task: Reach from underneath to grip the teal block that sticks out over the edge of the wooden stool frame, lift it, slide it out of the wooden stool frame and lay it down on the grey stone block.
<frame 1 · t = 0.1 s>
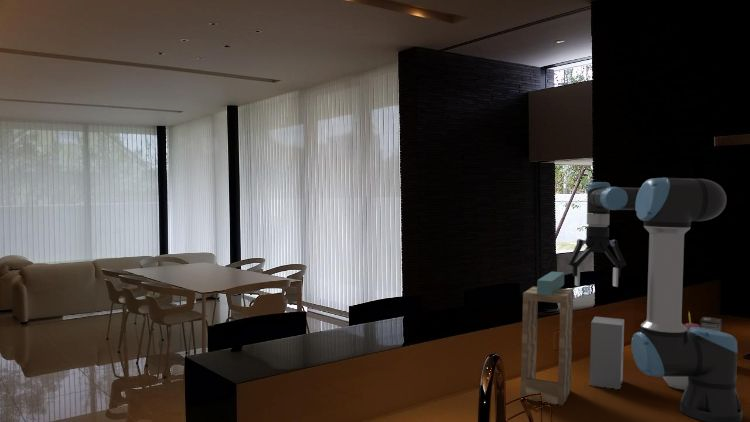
hand: (596, 286, 217), 28 cm above the counter, tool pointing down, fingers open, 13 cm apart
ceramic mug: (683, 351, 240), on the counter
wooden stool frame: (546, 394, 183), on the counter
coffee box: (709, 364, 222), on the counter
stone block: (606, 383, 196), on the counter
lidded bowl: (680, 386, 194), on the counter
cupcake: (692, 340, 259), on the counter
teal block: (551, 289, 187), point 31 cm above the counter, touching wooden stool frame
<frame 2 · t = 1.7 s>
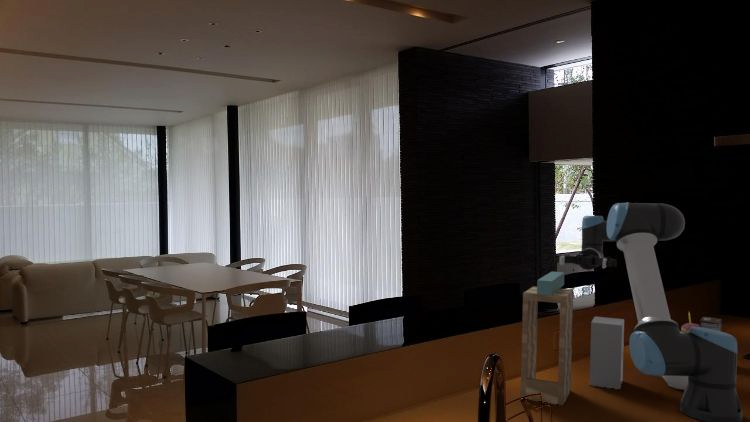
hand: (581, 262, 203), 38 cm above the counter, tool horizontal, fingers open, 13 cm apart
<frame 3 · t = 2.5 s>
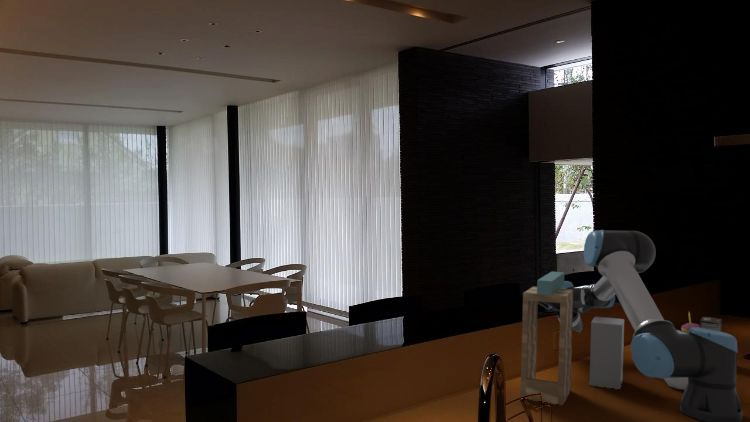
hand: (560, 291, 203), 28 cm above the counter, tool pointing upward, fingers open, 13 cm apart
nothing on the counter moved.
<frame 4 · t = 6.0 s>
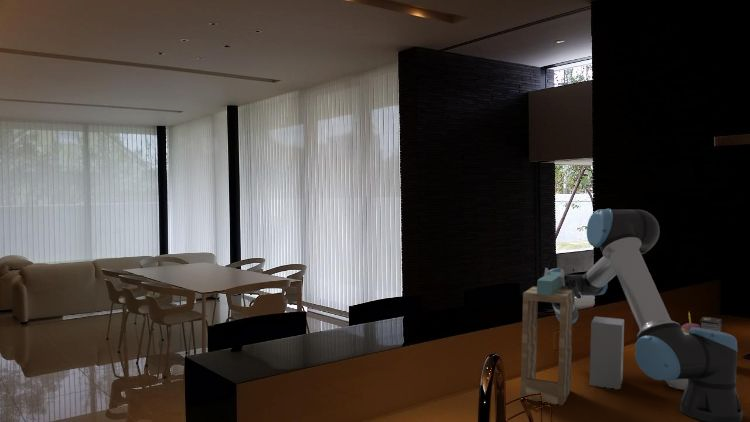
hand: (553, 272, 190), 36 cm above the counter, tool pointing upward, fingers closed on teal block, 4 cm apart
teal block: (551, 289, 187), point 31 cm above the counter, touching gripper, wooden stool frame
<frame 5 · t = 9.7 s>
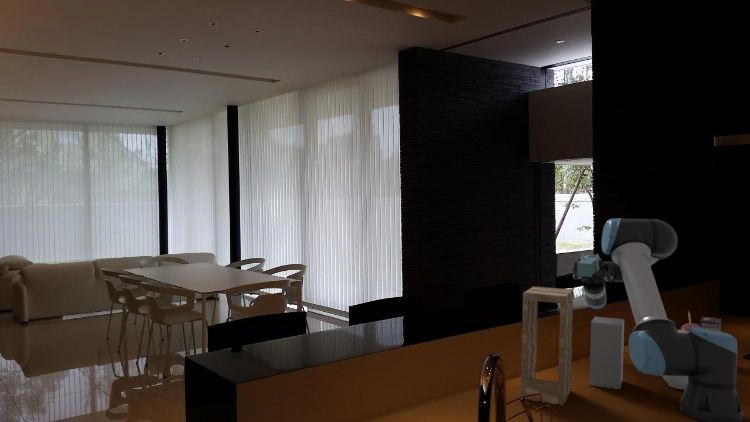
hand: (589, 257, 203), 39 cm above the counter, tool pointing upward, fingers closed on teal block, 4 cm apart
teal block: (587, 272, 200), point 35 cm above the counter, touching gripper
when the fingers open (25 cm above the counter, at t = 13.3 s): teal block stays where it is, resting on stone block.
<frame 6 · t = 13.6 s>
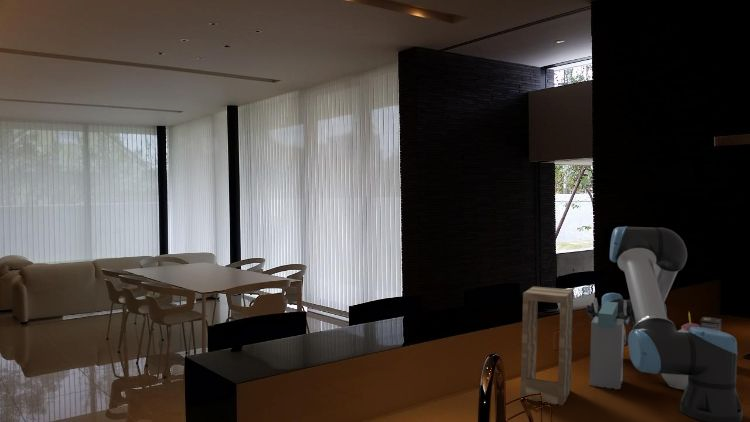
hand: (609, 302, 201), 25 cm above the counter, tool pointing upward, fingers open, 8 cm apart
teal block: (608, 320, 197), point 20 cm above the counter, touching stone block
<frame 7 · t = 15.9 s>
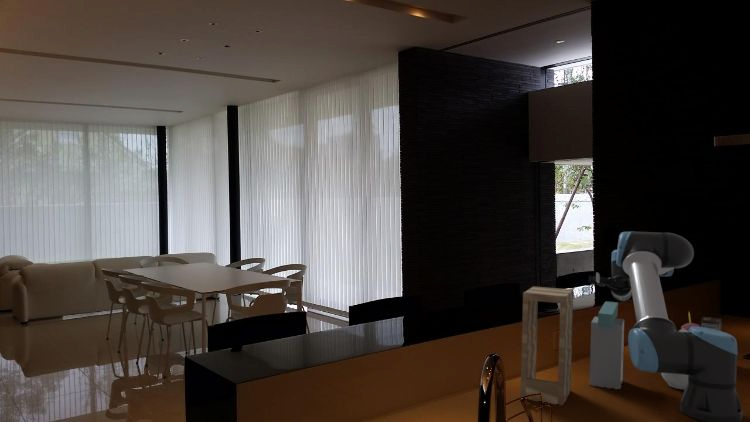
hand: (618, 277, 212), 32 cm above the counter, tool pointing upward, fingers open, 13 cm apart
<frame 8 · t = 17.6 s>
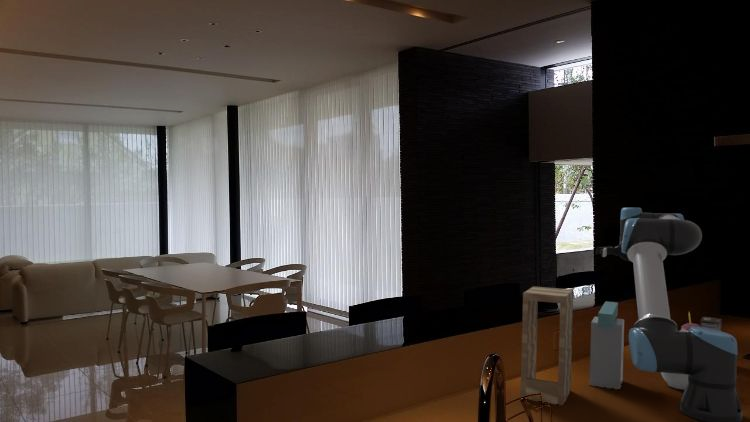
hand: (625, 254, 210), 40 cm above the counter, tool horizontal, fingers open, 13 cm apart
at the end: teal block inside the target area on the stone block (1.3 cm from its centre), point 20.0 cm above the stone block's base; the gripper is holding nothing; teal block touching stone block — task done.
